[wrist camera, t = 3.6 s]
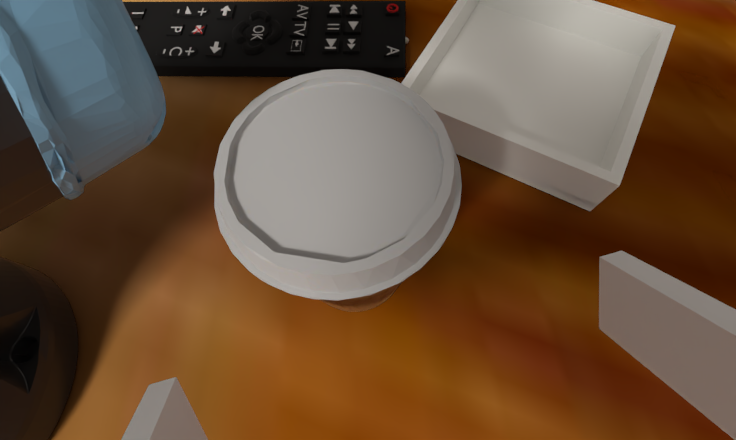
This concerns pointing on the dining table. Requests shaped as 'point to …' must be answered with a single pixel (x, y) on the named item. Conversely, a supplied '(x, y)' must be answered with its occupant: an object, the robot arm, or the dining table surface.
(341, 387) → the dining table surface
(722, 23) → the dining table surface
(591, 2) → the tray
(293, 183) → the disposable coffee cup
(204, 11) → the remote control
